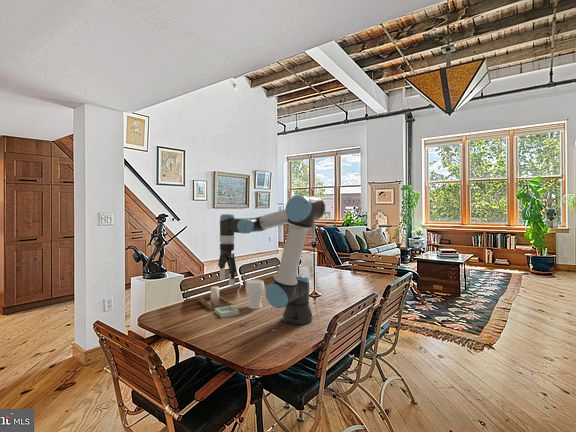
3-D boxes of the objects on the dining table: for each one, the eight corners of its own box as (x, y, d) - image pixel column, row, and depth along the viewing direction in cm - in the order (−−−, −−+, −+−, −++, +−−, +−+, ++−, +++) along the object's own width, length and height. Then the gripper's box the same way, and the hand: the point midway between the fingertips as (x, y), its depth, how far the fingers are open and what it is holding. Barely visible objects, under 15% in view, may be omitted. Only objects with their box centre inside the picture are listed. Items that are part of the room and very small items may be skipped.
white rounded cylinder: (220, 304, 196) (220, 287, 196) (212, 306, 193) (212, 288, 193) (217, 302, 200) (217, 286, 200) (209, 303, 197) (209, 287, 197)
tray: (231, 308, 191) (231, 303, 191) (211, 311, 185) (211, 306, 185) (218, 299, 209) (218, 294, 209) (199, 302, 202) (199, 297, 202)
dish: (238, 314, 180) (238, 310, 180) (221, 317, 175) (221, 313, 175) (231, 309, 188) (231, 305, 188) (214, 312, 183) (214, 308, 183)
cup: (261, 310, 187) (261, 283, 186) (243, 309, 189) (243, 283, 188) (266, 305, 197) (266, 279, 196) (249, 304, 199) (249, 278, 199)
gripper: (243, 245, 172) (243, 286, 173) (225, 240, 193) (225, 277, 194) (229, 246, 168) (229, 288, 169) (212, 241, 189) (212, 278, 190)
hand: (227, 282), depth 181 cm, fingers open, 13 cm apart
